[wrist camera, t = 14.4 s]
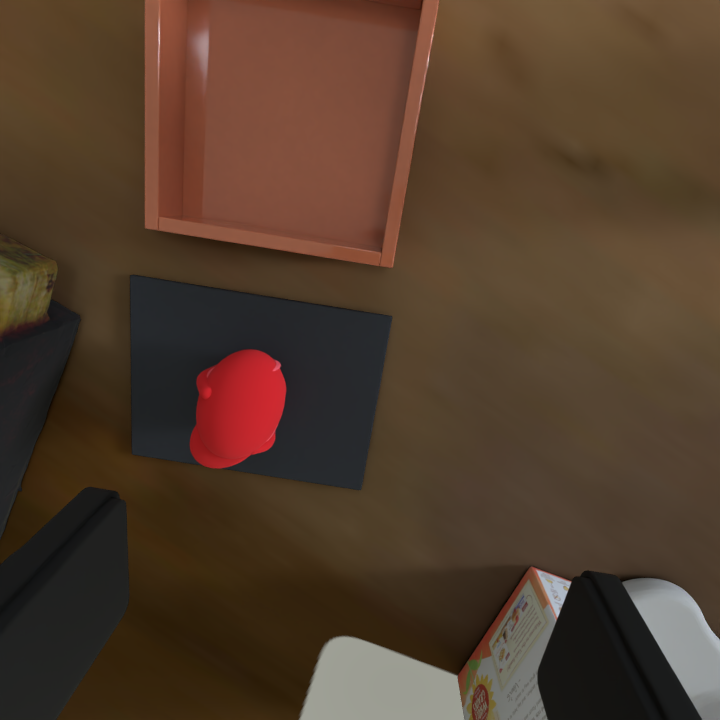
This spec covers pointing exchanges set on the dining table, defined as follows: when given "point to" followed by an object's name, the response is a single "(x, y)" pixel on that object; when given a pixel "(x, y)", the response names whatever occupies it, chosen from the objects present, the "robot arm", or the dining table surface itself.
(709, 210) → the dining table surface
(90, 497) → the robot arm
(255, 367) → the cap
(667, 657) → the holder
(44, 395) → the packaged item
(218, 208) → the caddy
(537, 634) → the cracker box
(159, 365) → the mat
